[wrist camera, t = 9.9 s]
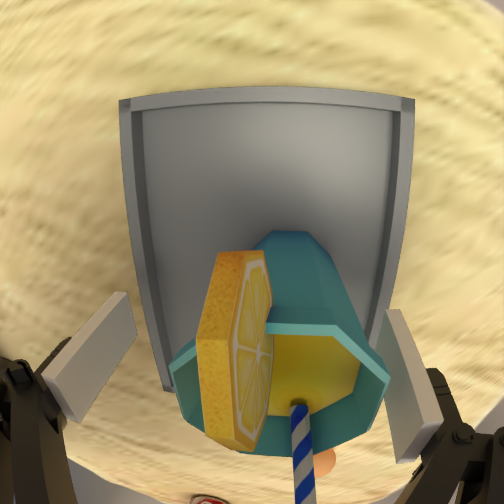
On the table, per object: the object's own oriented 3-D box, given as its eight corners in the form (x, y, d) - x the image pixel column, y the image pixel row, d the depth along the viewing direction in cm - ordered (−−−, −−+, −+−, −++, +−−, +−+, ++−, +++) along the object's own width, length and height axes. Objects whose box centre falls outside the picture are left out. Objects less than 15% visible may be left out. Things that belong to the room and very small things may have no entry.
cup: (376, 343, 21) (414, 544, 7) (277, 370, 23) (249, 561, 9) (313, 151, 16) (402, 306, 2) (189, 202, 18) (-3, 384, 5)
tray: (172, 372, 26) (164, 391, 24) (137, 101, 17) (118, 100, 15) (355, 386, 24) (358, 407, 22) (400, 101, 15) (414, 99, 13)
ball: (296, 453, 29) (294, 482, 25) (300, 435, 27) (298, 467, 24) (331, 453, 28) (332, 482, 25) (338, 435, 27) (339, 467, 23)
